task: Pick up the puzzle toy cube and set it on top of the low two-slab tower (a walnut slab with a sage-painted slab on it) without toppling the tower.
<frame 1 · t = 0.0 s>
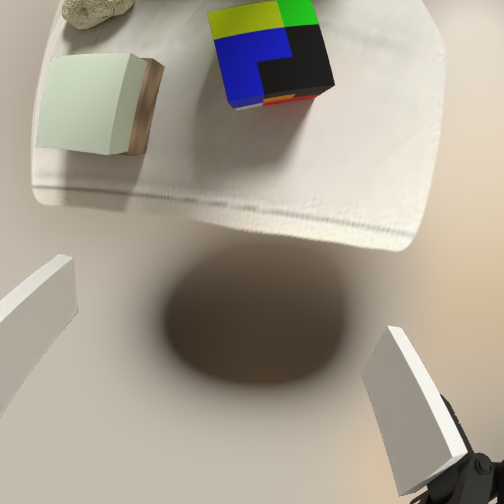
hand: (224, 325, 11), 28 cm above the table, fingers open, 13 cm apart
puzzle toy: (267, 67, 31), on the table
walnut slab: (116, 105, 32), on the table, touching sage slab
sage slab: (98, 103, 28), point 5 cm above the table, touching walnut slab
decorative item: (106, 3, 26), on the table
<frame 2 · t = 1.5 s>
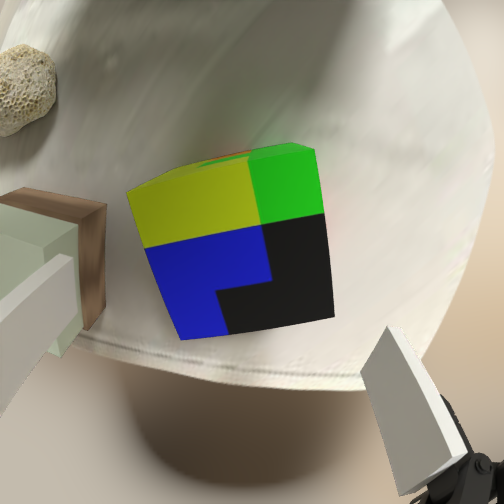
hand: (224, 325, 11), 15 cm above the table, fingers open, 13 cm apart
puzzle toy: (244, 210, 25), on the table
walnut slab: (62, 246, 27), on the table, touching sage slab
sage slab: (37, 265, 22), point 5 cm above the table, touching walnut slab
decorative item: (28, 90, 20), on the table
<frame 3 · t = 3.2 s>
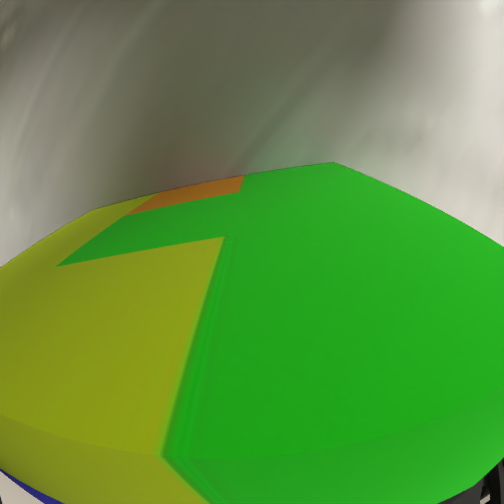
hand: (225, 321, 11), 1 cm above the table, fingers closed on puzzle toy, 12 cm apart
puzzle toy: (228, 296, 13), on the table, touching gripper
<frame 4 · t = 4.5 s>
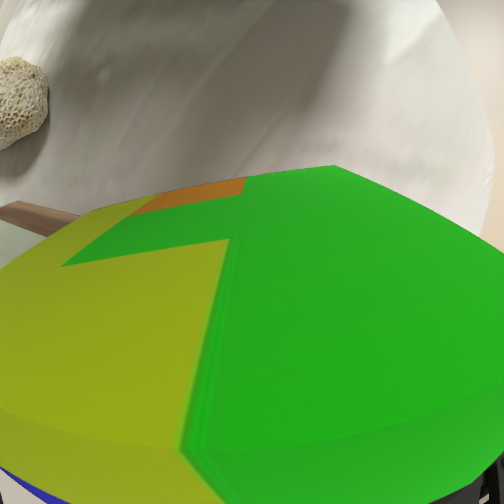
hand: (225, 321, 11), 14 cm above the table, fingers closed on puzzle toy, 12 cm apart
puzzle toy: (228, 296, 13), point 12 cm above the table, touching gripper
walnut slab: (56, 261, 26), on the table, touching sage slab
sage slab: (31, 283, 22), point 5 cm above the table, touching walnut slab
decorative item: (21, 103, 20), on the table
when the fingers open (13 cm above the table, at t = 8.4 s): puzzle toy drops 2 cm, point 9 cm above the table.
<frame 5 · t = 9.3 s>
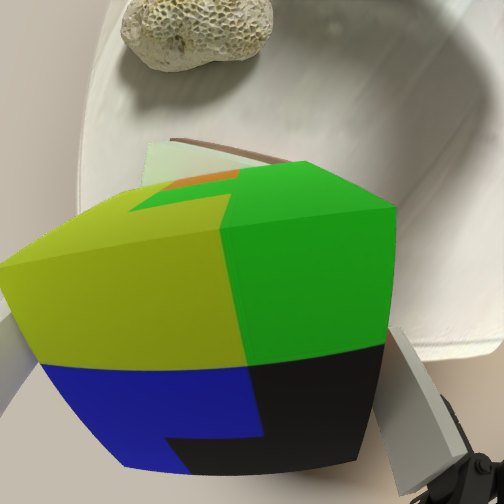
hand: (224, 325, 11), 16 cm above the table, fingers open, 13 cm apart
puzzle toy: (225, 261, 17), point 9 cm above the table, touching gripper
walnut slab: (238, 218, 26), on the table
sage slab: (230, 232, 21), point 5 cm above the table
decorative item: (201, 28, 19), on the table
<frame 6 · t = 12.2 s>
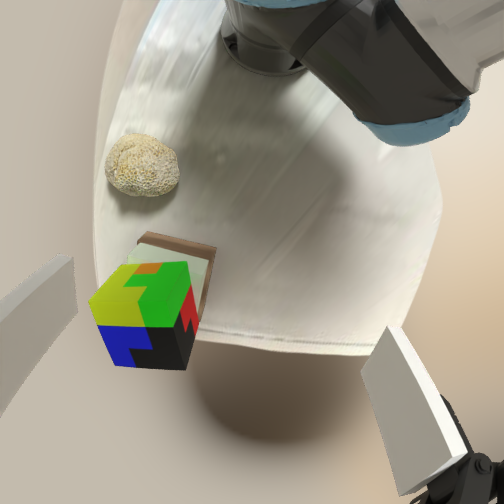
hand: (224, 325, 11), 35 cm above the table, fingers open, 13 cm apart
puzzle toy: (160, 294, 40), point 9 cm above the table, touching sage slab
walnut slab: (177, 269, 49), on the table, touching sage slab
sage slab: (168, 282, 45), point 4 cm above the table, touching puzzle toy, walnut slab
decorative item: (148, 165, 42), on the table
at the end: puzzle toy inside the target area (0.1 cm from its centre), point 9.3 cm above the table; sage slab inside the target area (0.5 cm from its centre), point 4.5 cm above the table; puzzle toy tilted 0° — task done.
